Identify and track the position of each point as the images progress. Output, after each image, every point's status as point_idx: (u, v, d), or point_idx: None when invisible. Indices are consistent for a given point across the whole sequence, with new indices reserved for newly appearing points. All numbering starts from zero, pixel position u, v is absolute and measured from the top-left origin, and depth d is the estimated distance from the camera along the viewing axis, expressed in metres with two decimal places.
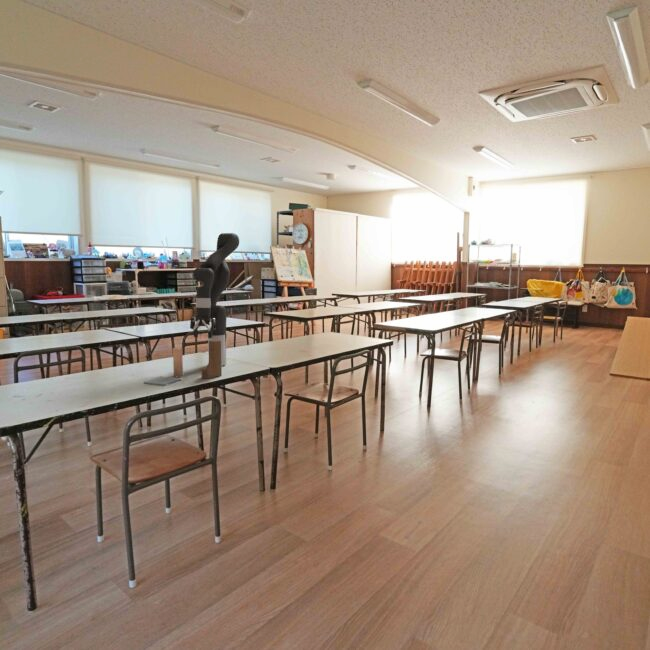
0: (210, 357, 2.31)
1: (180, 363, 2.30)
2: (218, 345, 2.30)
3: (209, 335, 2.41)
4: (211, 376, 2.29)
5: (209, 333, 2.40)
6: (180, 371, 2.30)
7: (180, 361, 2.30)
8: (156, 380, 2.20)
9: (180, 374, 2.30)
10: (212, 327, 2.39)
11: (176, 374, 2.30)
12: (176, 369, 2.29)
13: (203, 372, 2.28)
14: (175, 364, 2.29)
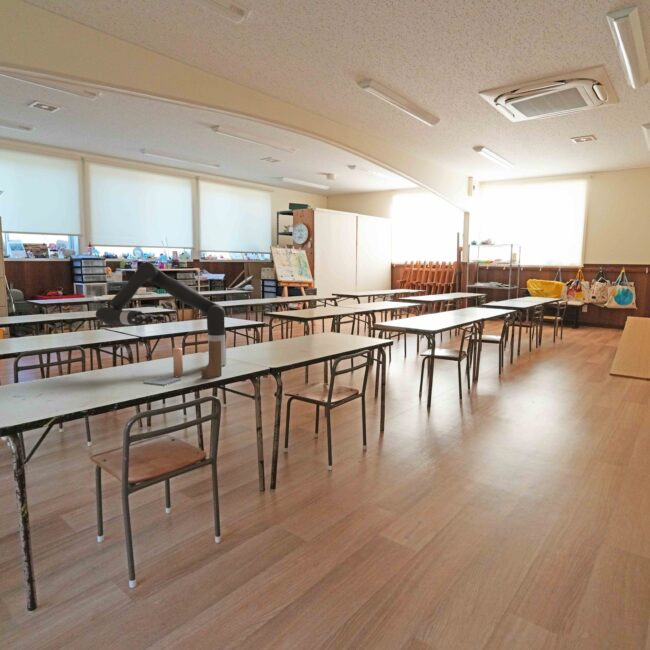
0: (210, 357, 2.31)
1: (180, 363, 2.30)
2: (218, 345, 2.30)
3: (149, 322, 2.28)
4: (211, 376, 2.29)
5: None
6: (180, 371, 2.30)
7: (180, 361, 2.30)
8: (156, 380, 2.20)
9: (180, 374, 2.30)
10: (139, 322, 2.28)
11: (176, 374, 2.30)
12: (176, 369, 2.29)
13: (203, 372, 2.28)
14: (175, 364, 2.29)
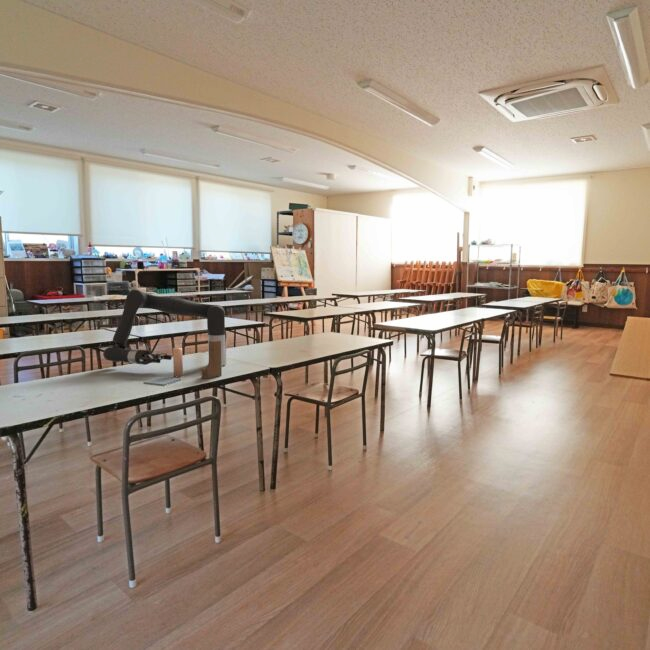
0: (210, 357, 2.31)
1: (180, 363, 2.30)
2: (218, 345, 2.30)
3: (157, 362, 2.30)
4: (211, 376, 2.29)
5: (155, 362, 2.30)
6: (180, 371, 2.30)
7: (180, 361, 2.30)
8: (156, 380, 2.20)
9: (180, 374, 2.30)
10: (147, 363, 2.29)
11: (176, 374, 2.30)
12: (176, 369, 2.29)
13: (203, 372, 2.28)
14: (175, 364, 2.29)
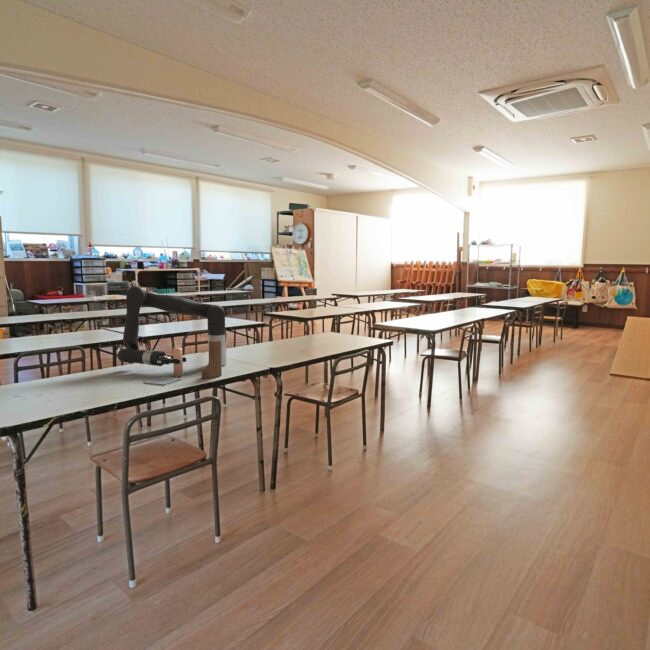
0: (210, 357, 2.31)
1: (180, 363, 2.30)
2: (218, 345, 2.30)
3: (176, 363, 2.28)
4: (211, 376, 2.29)
5: (174, 363, 2.28)
6: (180, 371, 2.30)
7: (180, 361, 2.30)
8: (156, 380, 2.20)
9: (180, 374, 2.30)
10: None
11: (176, 374, 2.30)
12: (176, 369, 2.29)
13: (203, 372, 2.28)
14: (175, 364, 2.29)
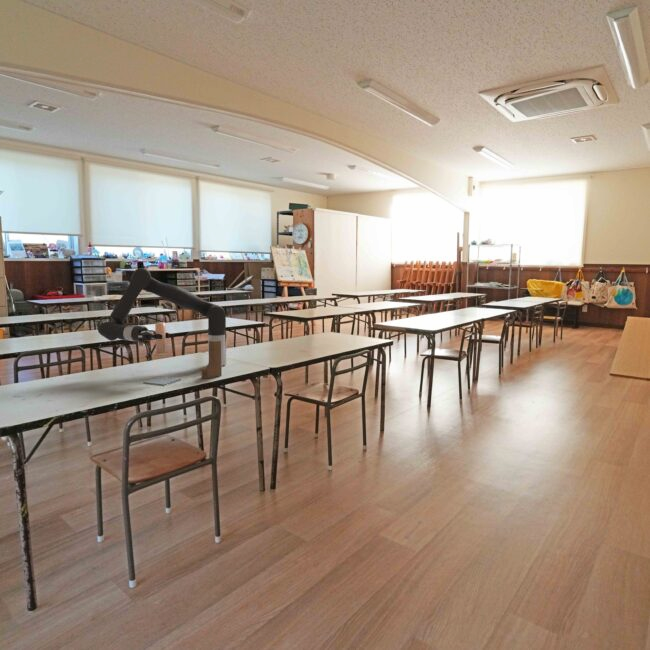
0: (210, 357, 2.31)
1: (163, 338, 2.17)
2: (218, 345, 2.30)
3: (158, 338, 2.15)
4: (211, 376, 2.29)
5: (157, 338, 2.16)
6: (163, 347, 2.17)
7: (163, 336, 2.17)
8: (156, 380, 2.20)
9: (163, 350, 2.18)
10: None
11: (158, 350, 2.17)
12: (158, 345, 2.17)
13: (203, 372, 2.28)
14: (157, 339, 2.16)
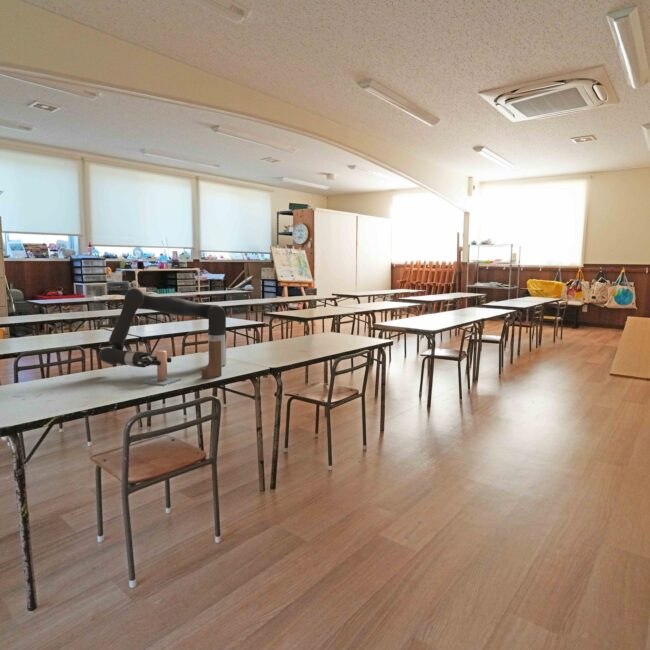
0: (210, 357, 2.31)
1: (164, 367, 2.18)
2: (218, 345, 2.30)
3: None
4: (211, 376, 2.29)
5: (155, 364, 2.16)
6: (164, 375, 2.19)
7: (164, 365, 2.18)
8: (156, 380, 2.20)
9: (164, 378, 2.19)
10: None
11: (160, 378, 2.18)
12: (160, 373, 2.18)
13: (203, 372, 2.28)
14: (159, 368, 2.18)
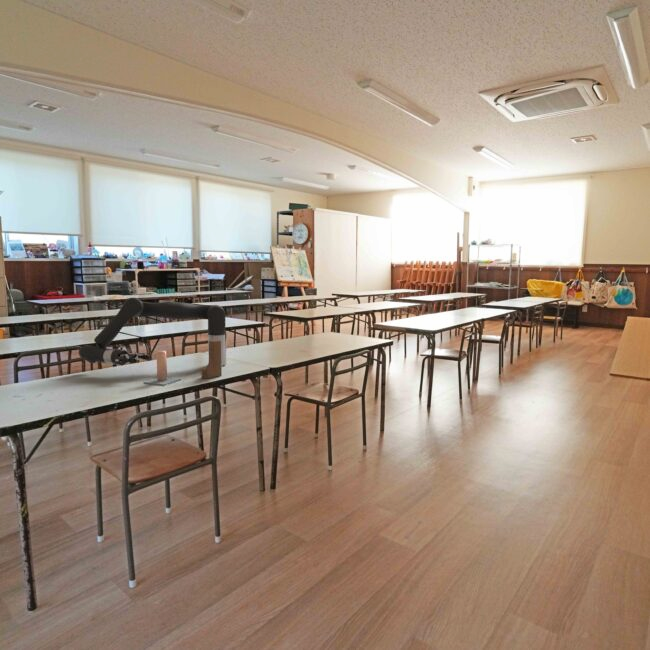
0: (210, 357, 2.31)
1: (164, 367, 2.18)
2: (218, 345, 2.30)
3: (133, 362, 2.19)
4: (211, 376, 2.29)
5: (131, 362, 2.20)
6: (164, 375, 2.19)
7: (164, 364, 2.18)
8: (156, 380, 2.20)
9: (164, 378, 2.19)
10: None
11: (160, 378, 2.18)
12: (160, 373, 2.18)
13: (203, 372, 2.28)
14: (159, 368, 2.18)
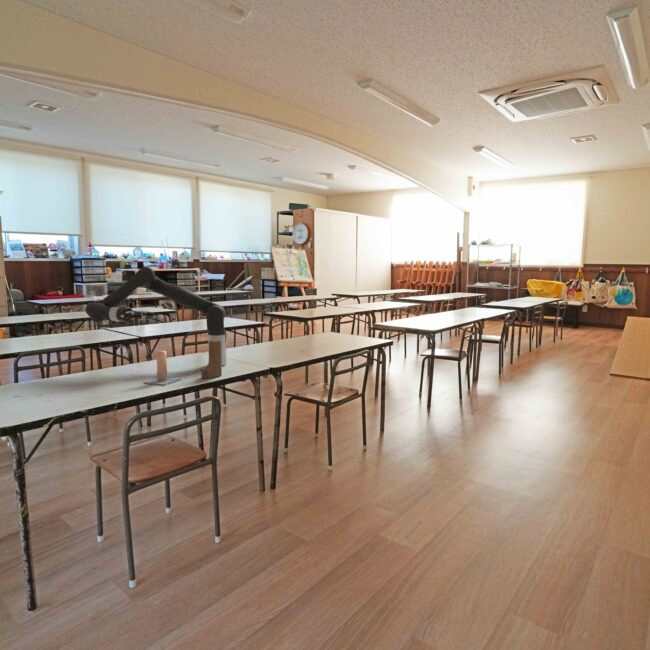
0: (210, 357, 2.31)
1: (164, 367, 2.18)
2: (218, 345, 2.30)
3: (138, 318, 2.25)
4: (211, 376, 2.29)
5: (136, 318, 2.26)
6: (164, 375, 2.19)
7: (164, 365, 2.18)
8: (156, 380, 2.20)
9: (164, 378, 2.19)
10: (128, 318, 2.25)
11: (160, 378, 2.18)
12: (160, 373, 2.18)
13: (203, 372, 2.28)
14: (159, 368, 2.18)
